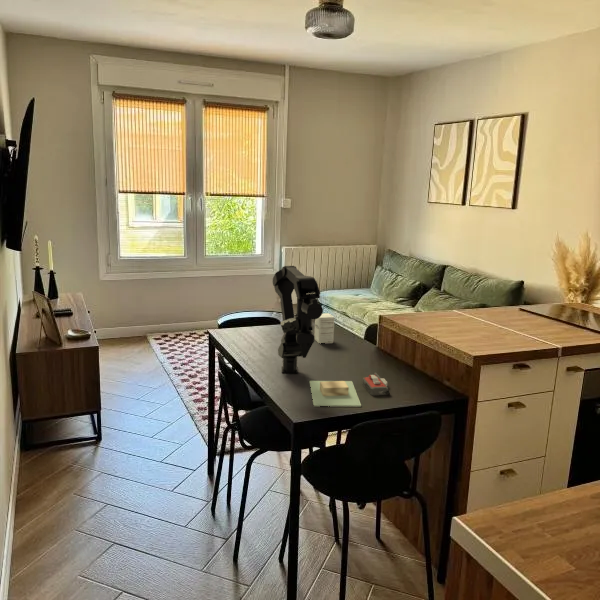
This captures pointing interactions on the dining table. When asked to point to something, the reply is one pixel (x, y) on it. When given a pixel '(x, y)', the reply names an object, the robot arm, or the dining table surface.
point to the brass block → (334, 388)
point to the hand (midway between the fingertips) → (303, 353)
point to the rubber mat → (334, 401)
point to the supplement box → (324, 328)
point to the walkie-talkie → (375, 385)
